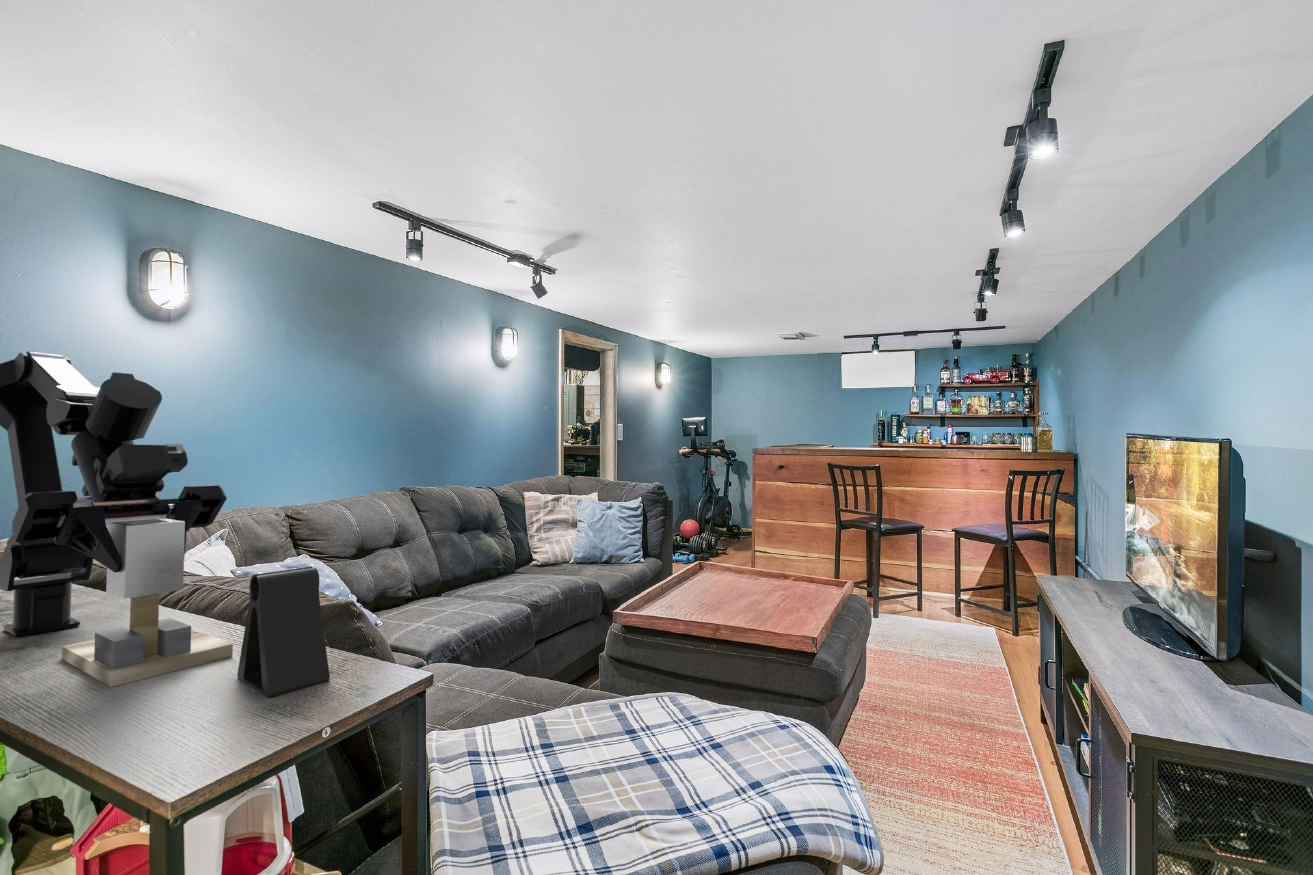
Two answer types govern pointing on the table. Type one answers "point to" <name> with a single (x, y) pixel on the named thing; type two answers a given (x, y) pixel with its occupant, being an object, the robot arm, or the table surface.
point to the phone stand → (284, 633)
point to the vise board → (151, 663)
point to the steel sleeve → (147, 557)
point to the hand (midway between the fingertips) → (151, 565)
